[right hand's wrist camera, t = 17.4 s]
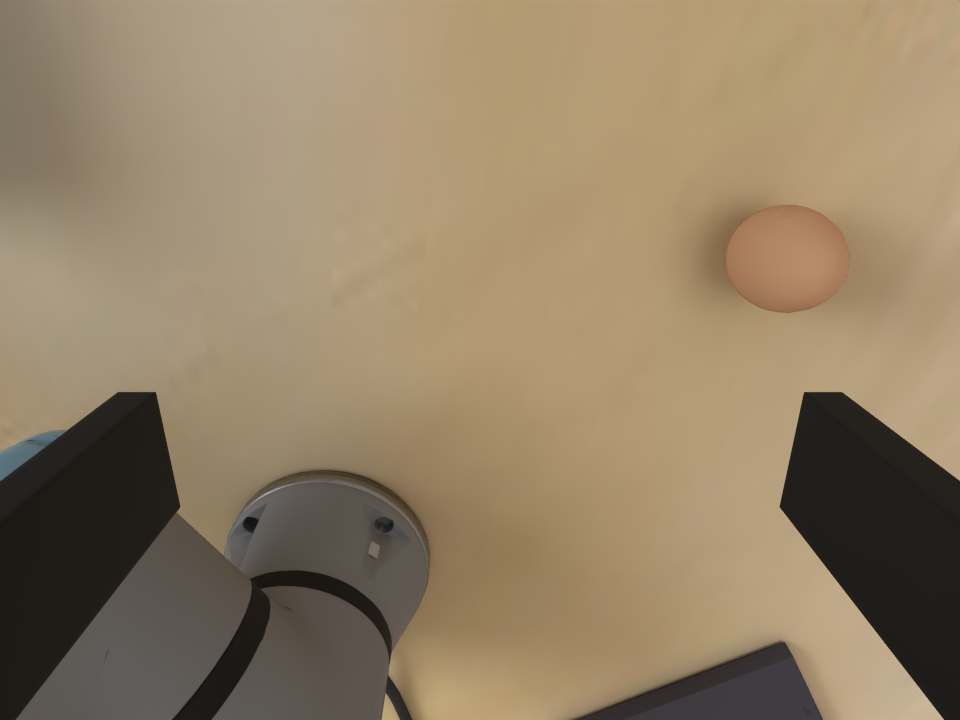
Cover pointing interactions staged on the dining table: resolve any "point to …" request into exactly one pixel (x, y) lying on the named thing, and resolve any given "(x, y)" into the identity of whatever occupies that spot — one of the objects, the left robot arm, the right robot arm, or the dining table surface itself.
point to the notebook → (728, 693)
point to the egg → (787, 259)
